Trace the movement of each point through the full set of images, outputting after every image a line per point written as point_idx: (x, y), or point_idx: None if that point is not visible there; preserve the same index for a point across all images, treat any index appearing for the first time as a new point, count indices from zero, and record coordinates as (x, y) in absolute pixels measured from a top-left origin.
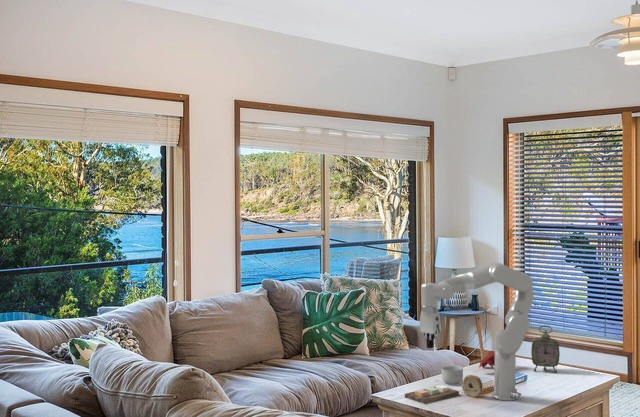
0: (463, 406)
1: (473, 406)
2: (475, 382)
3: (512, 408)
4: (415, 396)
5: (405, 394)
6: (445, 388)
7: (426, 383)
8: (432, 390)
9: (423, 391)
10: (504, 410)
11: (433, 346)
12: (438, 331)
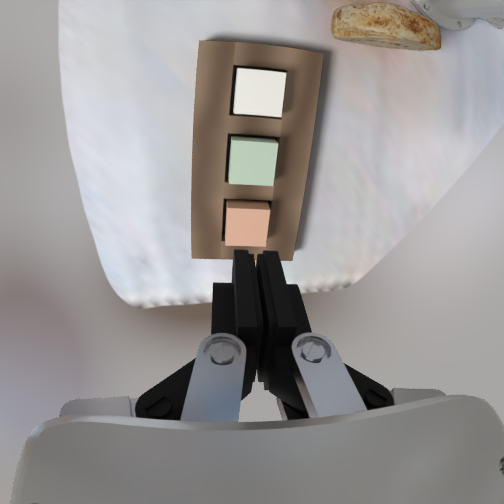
0: (405, 175)
1: (426, 151)
2: (419, 44)
3: (497, 94)
4: None
5: (195, 256)
6: (283, 96)
7: (94, 30)
8: (270, 181)
9: (254, 223)
10: (491, 127)
11: (278, 259)
12: (445, 420)
